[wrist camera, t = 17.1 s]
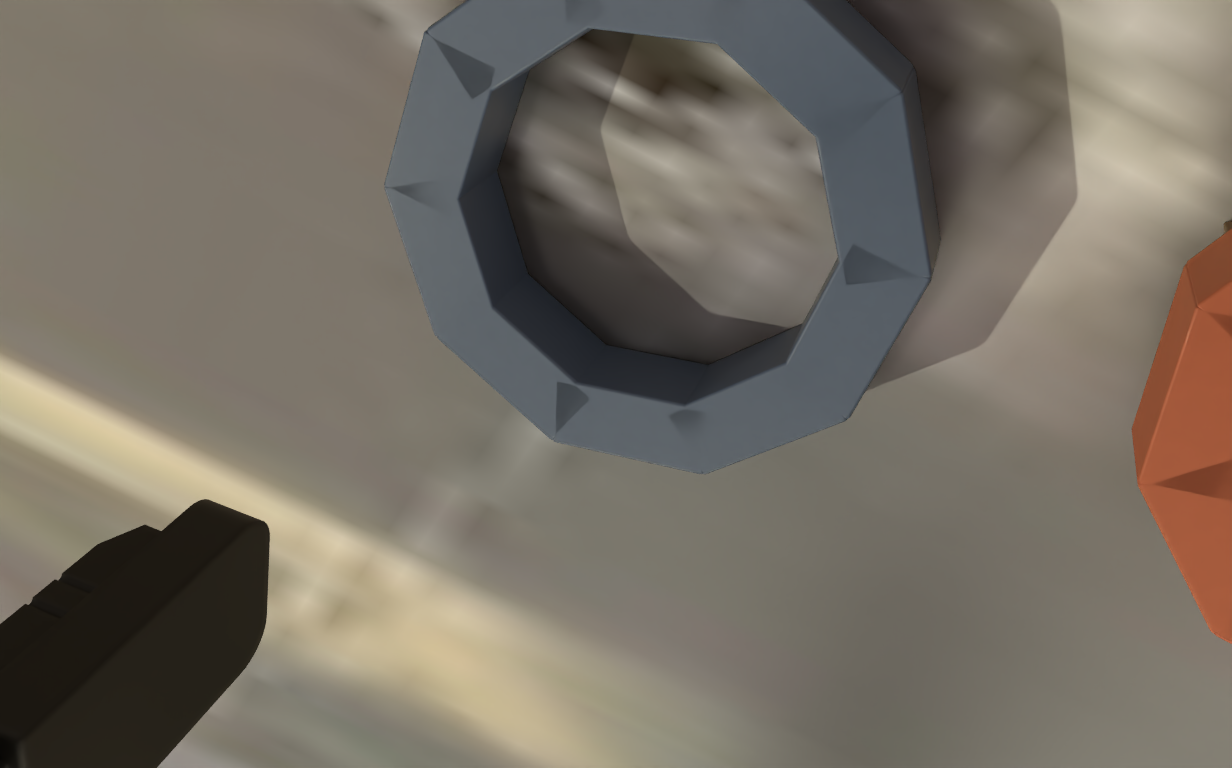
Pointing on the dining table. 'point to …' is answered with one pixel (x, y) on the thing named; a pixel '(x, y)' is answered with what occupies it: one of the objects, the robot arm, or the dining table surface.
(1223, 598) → the terracotta ring
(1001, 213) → the dining table surface
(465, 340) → the slate ring
